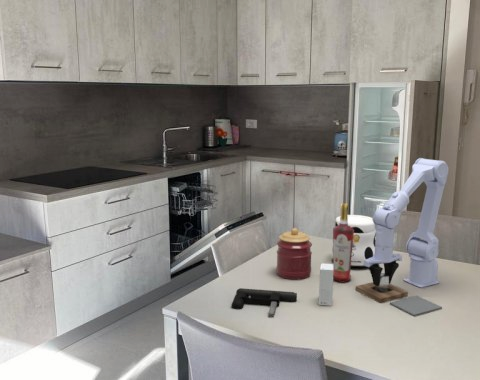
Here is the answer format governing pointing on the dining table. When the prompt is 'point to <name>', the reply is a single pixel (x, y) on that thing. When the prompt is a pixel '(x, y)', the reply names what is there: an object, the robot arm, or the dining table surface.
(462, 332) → the dining table surface
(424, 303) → the rubber mat
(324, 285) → the skincare box
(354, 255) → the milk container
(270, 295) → the door handle
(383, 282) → the end cover
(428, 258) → the robot arm
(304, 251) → the canister
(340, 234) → the liquor
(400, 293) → the bore plate
